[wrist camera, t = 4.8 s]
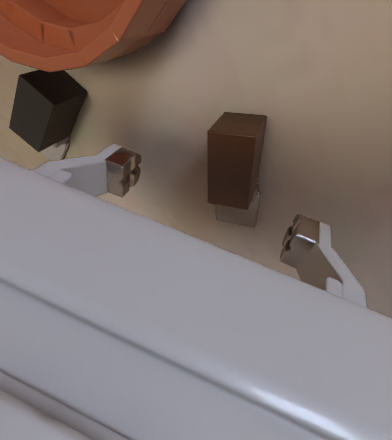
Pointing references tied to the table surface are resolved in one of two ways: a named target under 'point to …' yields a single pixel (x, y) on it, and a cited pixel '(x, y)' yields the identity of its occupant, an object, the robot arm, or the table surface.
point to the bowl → (79, 30)
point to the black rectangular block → (46, 111)
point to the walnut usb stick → (235, 166)
